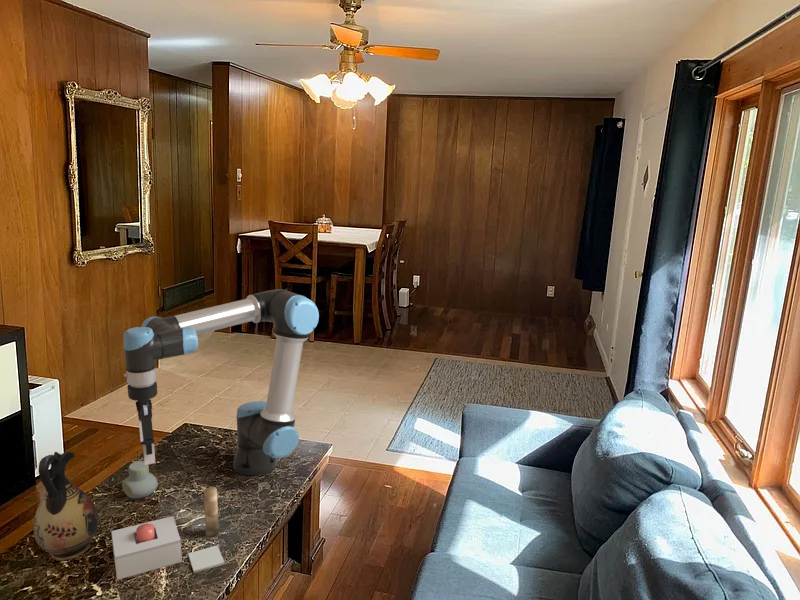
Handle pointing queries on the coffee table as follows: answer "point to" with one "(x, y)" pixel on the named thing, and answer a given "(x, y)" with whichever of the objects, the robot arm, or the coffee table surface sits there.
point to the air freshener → (139, 481)
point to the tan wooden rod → (211, 512)
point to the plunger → (145, 533)
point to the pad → (205, 559)
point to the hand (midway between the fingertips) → (147, 452)
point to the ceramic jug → (63, 512)
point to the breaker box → (146, 548)
